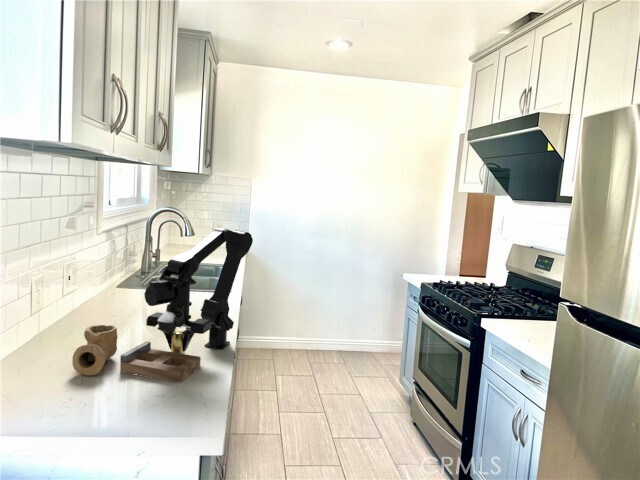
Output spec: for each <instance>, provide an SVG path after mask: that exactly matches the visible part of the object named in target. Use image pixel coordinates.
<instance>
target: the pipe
mask: <svg viewBox="0 0 640 480" xmlns="http://www.w3.org/2000/svg"><path fill="white" fill-rule="evenodd" d="M83 335H84V340H85V341H86V342H87V344H84V345H81V346H78V347H77V348H76V349H75V350H74V353H73V355H72V368H73V369H74V370H75V371H76V373H78V374H80V375H83V376H95V375H98V374H99V373H101V371H102V370H103V369H104V365H105V363H106V362H107V361H108V360H110V359H111V358H112V357H114V356H115V354H117V350H118V346H117V345H118V329H117V326H115V325H111V324H110V325H105V324H97V325H96V324H95V325H94V324H92V325H90V326H86V328H85V330H84V333H83Z"/></svg>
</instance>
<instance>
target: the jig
mask: <svg viewBox="0 0 640 480" xmlns="http://www.w3.org/2000/svg"><path fill="white" fill-rule="evenodd" d="M151 346H152V345H151V341H147V340H145V341H144V342H142V343H140V344H138V345H137V346H135V347H133V348H131V349H129V350H128V351H125V352H124V353H122V354H120V362H119V363H120V365H119V367H120V370H119V371H120V372H125V373H124V374H126V373H130V374H129V375H132V374H137V375H142V376H141V377H143V376H147V377H146V378H148V377H152V378H151V379H154V378H156V379H155V380H160V379H162V380H161V381H165V380H168V381H167V382H171V381H173V382H172V383H176V382H180V383H181V382H183V379H184V380H186V378H187V376H188V377H189V376H190V375H191V374H193V373H194V372H195V371H197V370H198V369H199V368H201V360H202V359H201V356H199V355H192V354H186V353H185V354H181V353H174V352H171V351H169V350H163V349H162V350H161V349H155V348H152V347H151ZM137 375H136V376H137Z"/></svg>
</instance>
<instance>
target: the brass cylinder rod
mask: <svg viewBox="0 0 640 480" xmlns="http://www.w3.org/2000/svg"><path fill="white" fill-rule="evenodd" d="M183 331H184V330H175V331H174V332H172V338H171V349H170V352H174V353H181V354H186V351H185V352H184V351H183V339H184V335H183V334H182V332H183Z"/></svg>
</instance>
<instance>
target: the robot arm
mask: <svg viewBox="0 0 640 480" xmlns="http://www.w3.org/2000/svg"><path fill="white" fill-rule="evenodd" d="M253 242H254V239H253V236H252V234H251V233H250V232H247V231H243V230H236V229H234V230H230V229H228V228H224V227H216V228H214V230H213V231H212V232H211V233H210V234H209V235H207V236H206V237H205V238H203V239H202V240H201V241H200V242H199V243H197V244H196V245H195V246H194V247H193V248H191V249H190V250H188V251H186V252H182V253H180V254H177V255H175V256H174V257H172V258H171V259H170V260H168V261H167V265H166V267H165V269H164V271H163V272H162V274H161V275H160V277H159V278H158V281H157V280H156V281H154V280H153V281H149V285H148V286H147V287H146V289H145V291H144V292H143V293H144V300H145V303H146V304H147V305H148V306H149V307H154V306H160V305H164V304H167V305H166V310H165V312H157V311H156V312H154V313H152V314H151V315H148V316H147V318H146V324H145V325H146V326H147V327H148V326H149V327H156V326H158V327H157V330H159V331H160V332H162V333H163V335H164V336H165V338H166V342H167V344H168V347H169V350H171V338H172V332H174V331H176V329H177V328H182V327H184V328H185V330H182V331H183V332H182V334H183V335H184V339H183V351H184V352H185V353H186V352H187V349H188V347H189V345H190V343H191V340H192V338H193V337H194V335H195V334H198V335H201V334H202V335H203V334H205V333H206V332H209V333H208V342H207V343H205V344H204V347H206V348H210V349H211V348H212V349H219V350H224V349H225V348H226V347H227V346H229V345H230V344H231V341H228V340H227V339H228V338H227V336H228V332H229V331H230V330H232V329H233V327H234V324H235V321H234V320H233V319H231V318H230V316H229V313H230V306H229V296H230V295H231V291H232V288H233V285H234V282H235V279H236V276H237V273H238V270H239V267H240V263H241V261H242V258H244V257H245V256H246V255H247V254H248V253H249V251H250V249H251V248H252V246H253ZM223 244H225V251H226V257H225V259H224V262H223V265H222V267H221V270H220V271H221V272H220V273H219V277H218V280H217V281H216V282H217V283H216V286H215V288H214V292H213V294H212V296H210V298H209V299H208V298H205V299H204V300H203V303H202V307H201V308H200V312H201V313H200V318H198V319H196V320H194V321H193V320H191V319H192V315H191V314H190V307H191V306H192V305H193V304H192V301H190V296H191V286H192V285H196V284H197V282H196V280H195V279H193V276H194V275H195V273H196V272H197V271H198V270H199V268H200V264H201V263H202V262H203V261H204V260H206V259H207V258H208V257H209V256H211V254H212V253H214V252H215V251H216V250H217V249H219V248H220V247H221V246H223Z"/></svg>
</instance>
